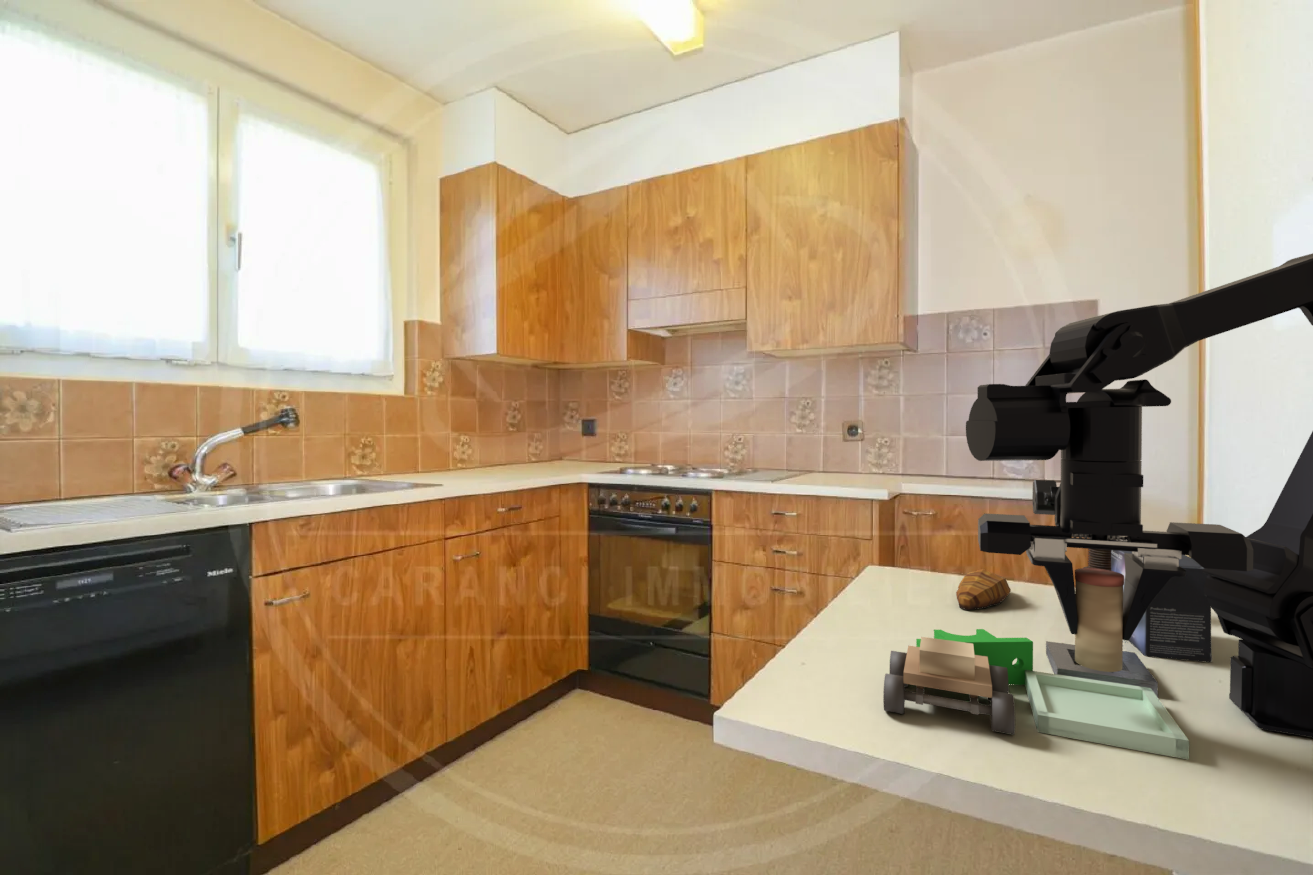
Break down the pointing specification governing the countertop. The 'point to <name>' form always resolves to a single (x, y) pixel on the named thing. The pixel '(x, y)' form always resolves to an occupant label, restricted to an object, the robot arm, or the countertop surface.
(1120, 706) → the tray
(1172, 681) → the countertop surface
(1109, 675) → the socket
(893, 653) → the toy car
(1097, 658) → the pin
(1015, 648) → the pipe clamp
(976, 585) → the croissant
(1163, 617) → the small box
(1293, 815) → the countertop surface
